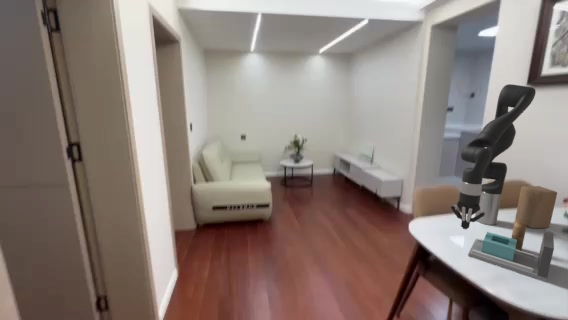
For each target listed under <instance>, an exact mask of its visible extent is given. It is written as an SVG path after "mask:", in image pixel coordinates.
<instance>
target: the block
mask: <svg viewBox="0 0 568 320" xmlns="http://www.w3.org/2000/svg"><path fill="white" fill-rule="evenodd" d="M557 195H558V192H557V191H555V190H552V189H549V188H547V187H544V186H539V185H530V186H529V185H527V186H526V185H525V186H521V187H520V193H519V199H518V204H517V208H516V213H515V218H514V221H515V220H522V221H525V222H527V226H526V227H528V228H530V229H549V228H550V225H551V223H552V222H551V221H552V217H553V213H554V208H555V204H556V199H557Z"/></svg>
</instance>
